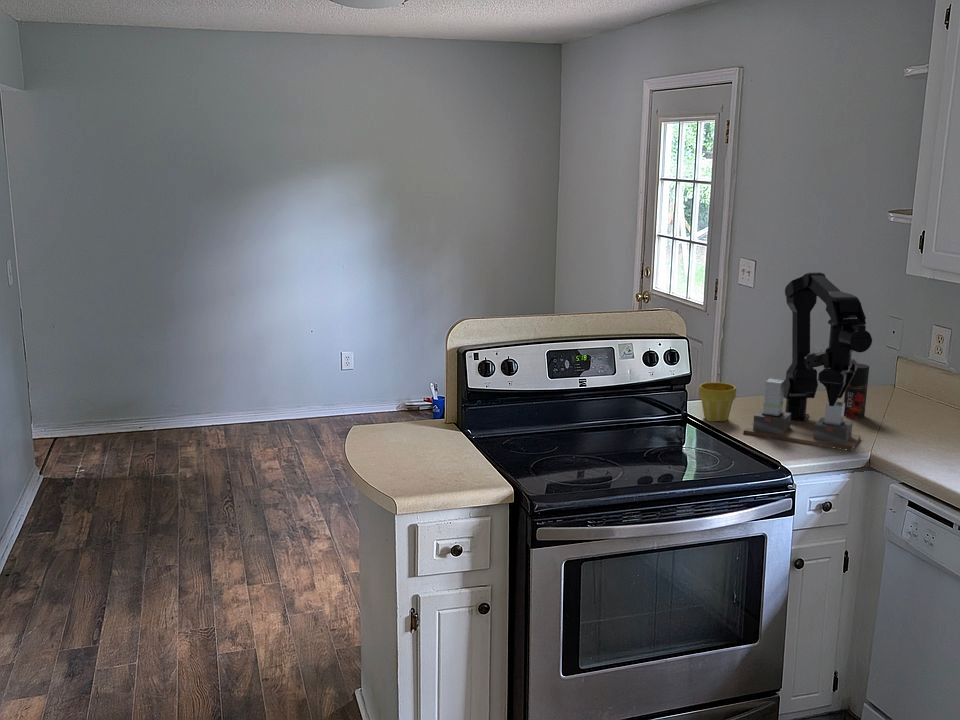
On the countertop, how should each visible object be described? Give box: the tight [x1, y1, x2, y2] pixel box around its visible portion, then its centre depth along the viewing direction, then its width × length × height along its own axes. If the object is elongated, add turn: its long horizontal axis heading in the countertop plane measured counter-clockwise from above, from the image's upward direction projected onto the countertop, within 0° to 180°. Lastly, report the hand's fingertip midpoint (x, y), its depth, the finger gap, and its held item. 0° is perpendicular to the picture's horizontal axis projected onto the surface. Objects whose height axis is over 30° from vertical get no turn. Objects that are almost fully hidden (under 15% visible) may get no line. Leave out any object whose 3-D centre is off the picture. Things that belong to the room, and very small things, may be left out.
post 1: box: [763, 378, 785, 416], centre depth 253 cm, size 4×4×9 cm
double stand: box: [742, 408, 861, 451], centre depth 250 cm, size 12×28×5 cm, turn 58°
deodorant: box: [843, 363, 870, 419], centre depth 269 cm, size 6×6×15 cm
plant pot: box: [698, 381, 737, 422], centre depth 266 cm, size 10×10×10 cm
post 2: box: [824, 401, 845, 427], centre depth 245 cm, size 4×4×9 cm
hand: (835, 401), depth 244 cm, fingers open, 9 cm apart
